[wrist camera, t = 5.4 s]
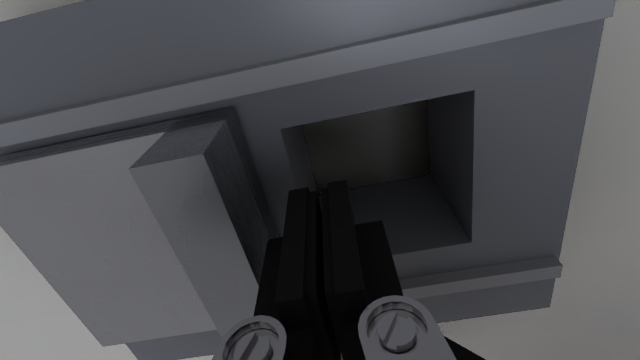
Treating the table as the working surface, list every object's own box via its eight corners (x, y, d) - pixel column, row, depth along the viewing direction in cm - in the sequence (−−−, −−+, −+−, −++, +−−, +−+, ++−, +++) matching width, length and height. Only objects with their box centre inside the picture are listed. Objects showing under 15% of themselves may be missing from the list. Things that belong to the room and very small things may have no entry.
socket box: (494, 230, 18) (557, 317, 14) (179, 282, 20) (137, 375, 15) (513, -92, 11) (654, -146, 7) (32, 27, 13) (-129, 52, 8)
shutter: (299, 295, 13) (294, 373, 10) (116, 323, 14) (69, 402, 11) (234, 106, 9) (203, 154, 7) (-12, 158, 10) (-126, 219, 7)
